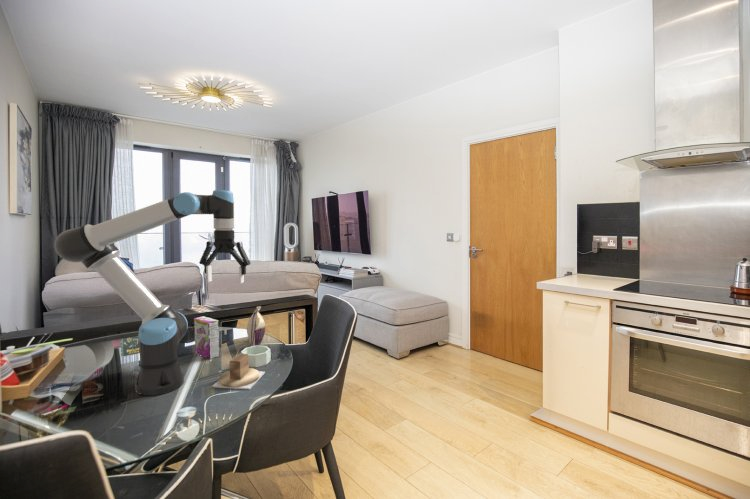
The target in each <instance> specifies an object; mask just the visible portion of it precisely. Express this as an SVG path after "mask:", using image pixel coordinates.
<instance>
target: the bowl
mask: <svg viewBox="0 0 750 499" xmlns="http://www.w3.org/2000/svg"><path fill="white" fill-rule="evenodd" d="M240 354H248V362H249V368H258V367H262V366H265V365H266V366H267V365H268V363H269V362H271V361H272V358H271V355H272V352H271V348H269V347H268V346H267V345H259V346H258V345H256V346H251V347H250V346H248V347H244V349H242V350H241V351H240Z"/></svg>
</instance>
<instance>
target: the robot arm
mask: <svg viewBox="0 0 750 499" xmlns="http://www.w3.org/2000/svg"><path fill="white" fill-rule="evenodd" d="M234 211H235V202H234V193H233V192H232V191H231V190H226V189H224V190H223V189H216V190H215V189H214V190H213V191H212V193H211V194H207V195H206V194H194V193H191V192H180V193H178V194H176V196H174V197H171V198H170V197H169V199H167V198H166V199H165V200H162V201H159V202H156V203H153V204H150V205H147V206H145V207H142V208H139V209H137V210H133V211H131V212H127V213H124V214H122V215H119V216H117V217H116V216H115V217H114V218H111V219H108V220H106V221H102V222H100V223H97V224H94V225H93V224H88V223H87V224H85V225H82V226H79V227H76V228H71V229H66V230H64V231H62V232H61V233H59V234H58V235H57V236H56V238H55V239H54V240H55V241H54V250H55V252H56V254H57V255H58V256H59V257H60V258H61V259H63V260H64V261H67V262H71V263H81V264H82V265H83V266H84V267H85V268H86V269H87V270H89V271H96V273H98V274H99V276H100V277H102V279H104V281H105V282H106V283H107V284H108V285H109V286H110V287H111V288H112V289H113V290H114V291H115V292H116V294H117V295H119V297H120V298H121V299H122V300H123V301H124V302H125V303H126V304H127V305H128V306H129V307H130V308H131V309H132V311H133V312H134V313H135V314H136V315H137V316H138V317H139V318H140V319H141V320H142V321H141V325H140V326H139V328H138V334H137V338H138V348H139V349H138V351H139V366H140V367H139V371H138V375H137V378H136V381H135V386H134V387H135V392H136V391H137V392H138V393H141V394H145V395H144V396H157V395H158V396H159V395H163V394H166V393H169V392H172V391H174V390H176V389H179V388H181V386H182V385H184V383H185V376H184V373H183V371H182V367H181V366H180V363H179V360H178V359H179V356H178V354H179V353H178V352H179V351H178V345H179V343H180V342H181V340H183V338H184V337H185V336H186V335H187V334H186V333H187V332H188V327H189V325H188V324H189V322H188V320H187V318H186V316H185V315H184V314H182V313H181V312H179V311H175V310H174V309H173V308H172V306H171V305H168V304H163V303H162V302H161V301H160V299H158V297H157V296H156V295H155V294H154V293H153V292H152V291H151V290H150V289H149V288H148V286H146V285H145V284H144V282H143V281H142V280H141V279H140V278H139V277H138V276H137V275H136V274H135V272H134V271H133V270H132V269H131V268H130V267H129V266H128V265H127V263H125V261H124V260H122V258H121V257H120V252H121V251H120V249H119V248H118V247H117V246H116V244H115V243H117V242H120V241H123V240H125V239H129V238H131V237H133V236H136V235H139V234H142V233H144V232H147V231H149V230H152V229H155V228H158V227H160V226H161V227H162V226H163V225H166V224H168V223H172V222H174V221H176V220H180V219H182V218H185V217H188V216H191V215H213V216H212V217H213V229H214V231H213V239H214V241H213V240H211V241H210V240H208V241H206V245H205V249H204V251H203V253H202V256H201V258H200V259H199V262H198V263H199V265H203V268H204V272H203V273H204V274H206V276H205V277H206V283H210V282H213V272H212V271H213V270H212V269H213V268H212V265H211V263H212V262H213V261H214V260H215V259H216V257H217V256H218V254H222V253H223V254H230V255H231V256H232V257H233V258H234V261H236V262H237V263H238V265H239V267H238V284H243V283H244V282H245V275H246V274H247V266H250V265H251V261H250V259H249V257H248V255H247V253H246V251H245V249H244V247H243V242H242V241H237V242H235V230H234V228H235V212H234ZM213 247H214V249H213ZM235 247H236V249H237V250H236V249H235ZM212 249H213V251H212ZM211 251H212V253H211ZM237 251H238V252H237ZM138 393H137V394H138Z"/></svg>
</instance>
